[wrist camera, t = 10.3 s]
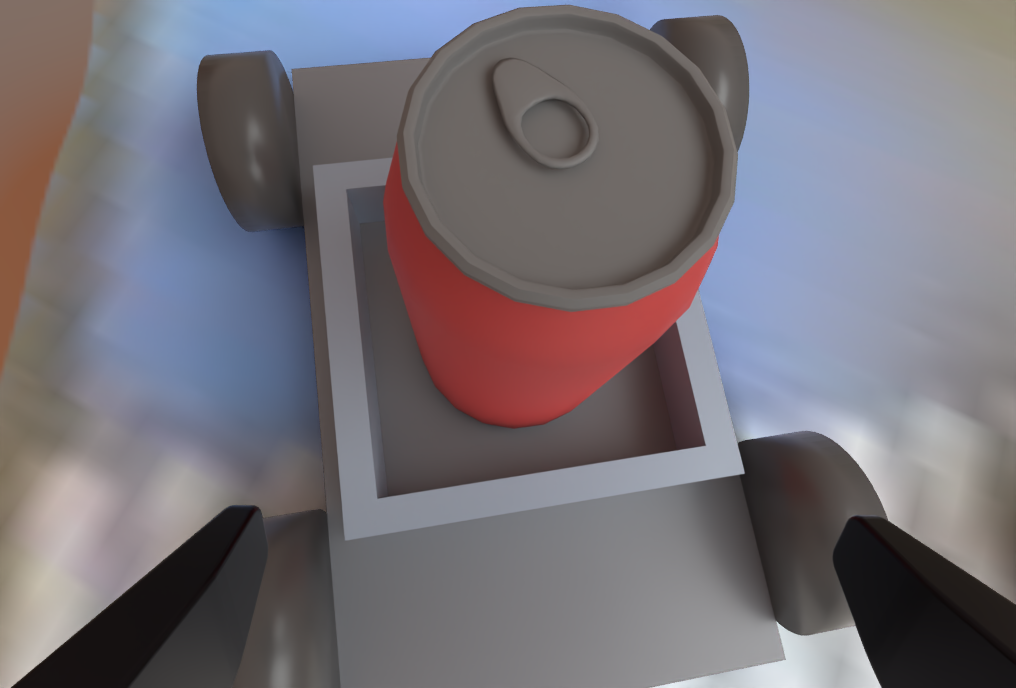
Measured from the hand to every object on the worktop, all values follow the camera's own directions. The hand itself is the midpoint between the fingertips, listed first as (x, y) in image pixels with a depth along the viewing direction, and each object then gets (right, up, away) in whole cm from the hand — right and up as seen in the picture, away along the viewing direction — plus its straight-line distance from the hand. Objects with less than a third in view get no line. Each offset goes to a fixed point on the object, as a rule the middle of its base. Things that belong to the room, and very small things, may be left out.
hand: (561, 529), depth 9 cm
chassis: (-1, +3, +14) cm, 14 cm away
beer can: (-1, +3, +12) cm, 13 cm away
